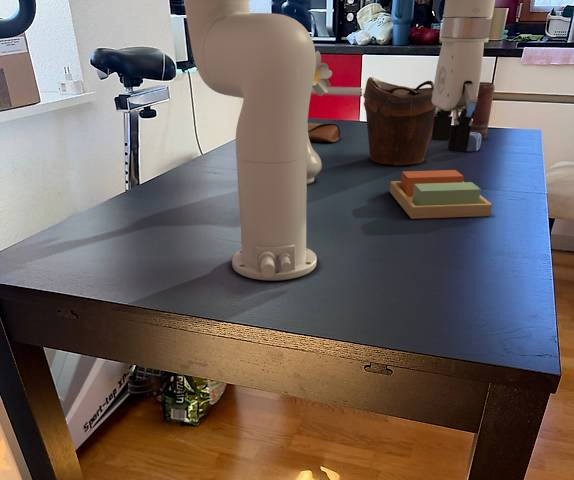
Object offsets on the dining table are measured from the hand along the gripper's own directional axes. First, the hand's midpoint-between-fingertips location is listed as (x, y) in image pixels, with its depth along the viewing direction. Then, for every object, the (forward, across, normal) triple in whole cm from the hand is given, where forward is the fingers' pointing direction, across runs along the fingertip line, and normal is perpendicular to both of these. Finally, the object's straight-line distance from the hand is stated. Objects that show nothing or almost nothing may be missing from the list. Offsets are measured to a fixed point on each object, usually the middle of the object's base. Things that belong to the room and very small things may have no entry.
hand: (448, 145), depth 101 cm
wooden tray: (+11, -5, +1) cm, 12 cm away
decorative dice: (+10, -50, +23) cm, 56 cm away
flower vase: (+12, -25, -24) cm, 36 cm away
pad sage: (+11, -1, +1) cm, 11 cm away
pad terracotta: (+11, -10, +1) cm, 15 cm away
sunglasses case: (+11, -69, -18) cm, 72 cm away
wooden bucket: (+11, -41, +2) cm, 42 cm away
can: (+10, -64, +29) cm, 71 cm away
